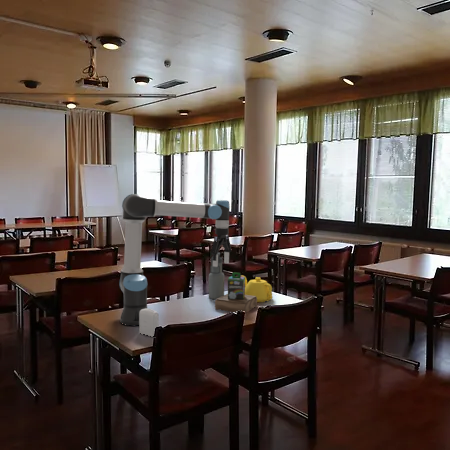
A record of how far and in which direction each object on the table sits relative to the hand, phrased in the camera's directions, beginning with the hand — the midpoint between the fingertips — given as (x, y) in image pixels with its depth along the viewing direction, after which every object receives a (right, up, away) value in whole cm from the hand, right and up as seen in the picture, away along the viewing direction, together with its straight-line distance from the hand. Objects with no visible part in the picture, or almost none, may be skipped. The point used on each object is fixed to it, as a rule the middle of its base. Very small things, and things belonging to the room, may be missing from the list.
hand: (220, 264), depth 261 cm
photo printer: (-33, -29, -47) cm, 64 cm away
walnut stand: (+9, -25, +3) cm, 27 cm away
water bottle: (-3, -23, +25) cm, 34 cm away
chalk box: (+9, -19, +2) cm, 21 cm away
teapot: (+22, -24, +24) cm, 40 cm away
